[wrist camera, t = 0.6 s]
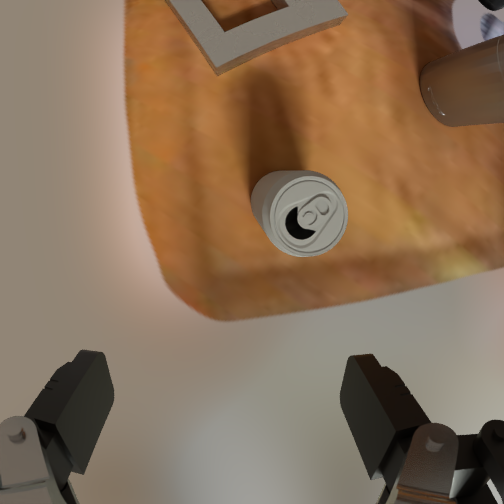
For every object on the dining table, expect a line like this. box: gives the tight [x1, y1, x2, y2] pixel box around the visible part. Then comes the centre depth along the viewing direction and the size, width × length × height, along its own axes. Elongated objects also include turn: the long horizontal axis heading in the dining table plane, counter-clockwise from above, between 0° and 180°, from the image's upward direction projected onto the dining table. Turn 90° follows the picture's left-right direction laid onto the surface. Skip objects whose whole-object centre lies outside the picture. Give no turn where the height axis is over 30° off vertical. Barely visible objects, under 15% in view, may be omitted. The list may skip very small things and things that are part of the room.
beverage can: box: [251, 170, 348, 257], centre depth 27 cm, size 6×6×12 cm
